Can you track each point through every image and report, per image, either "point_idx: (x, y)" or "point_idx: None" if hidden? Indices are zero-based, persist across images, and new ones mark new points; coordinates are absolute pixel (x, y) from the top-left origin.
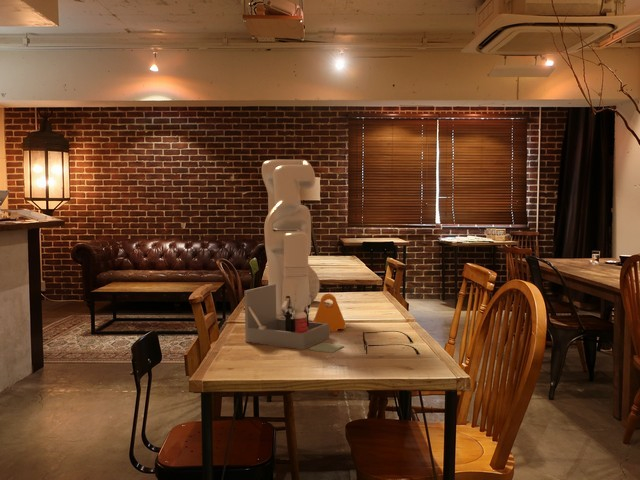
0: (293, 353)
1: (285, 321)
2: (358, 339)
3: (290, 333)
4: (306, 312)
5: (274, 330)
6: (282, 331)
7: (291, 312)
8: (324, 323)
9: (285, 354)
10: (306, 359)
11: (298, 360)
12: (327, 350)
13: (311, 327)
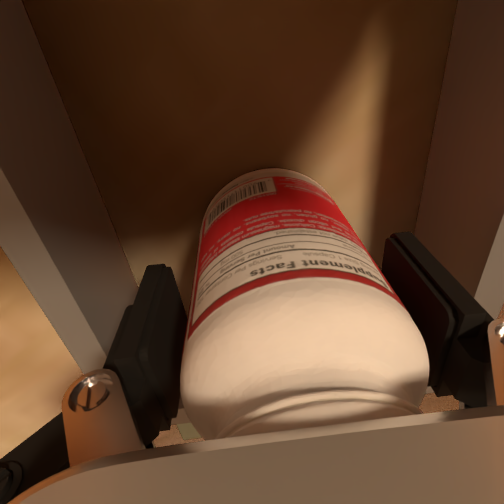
0: (55, 356)
1: (125, 330)
2: (421, 405)
3: (84, 364)
4: (463, 401)
5: (11, 237)
6: (54, 312)
7: (220, 427)
8: None
9: (9, 342)
10: (45, 424)
11: (8, 415)
12: (182, 427)
13: (449, 269)
